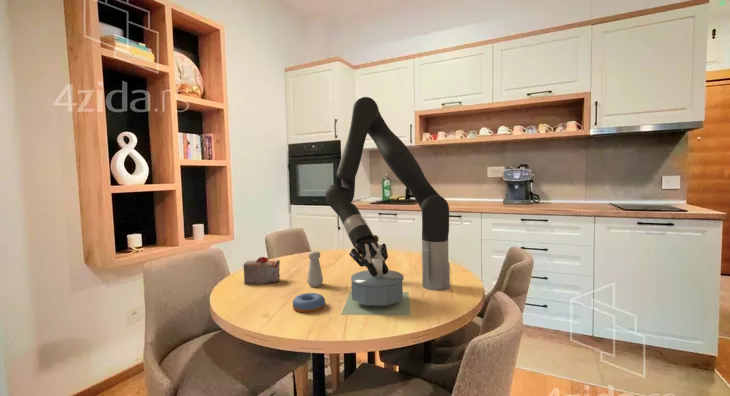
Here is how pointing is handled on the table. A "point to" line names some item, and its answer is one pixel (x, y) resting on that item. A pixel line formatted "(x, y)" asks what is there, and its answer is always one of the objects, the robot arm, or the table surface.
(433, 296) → the table surface
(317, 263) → the salt shaker
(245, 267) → the food item
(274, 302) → the table surface
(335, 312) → the table surface
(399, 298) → the food cover
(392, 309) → the rubber mat
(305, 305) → the doughnut
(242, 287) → the table surface
